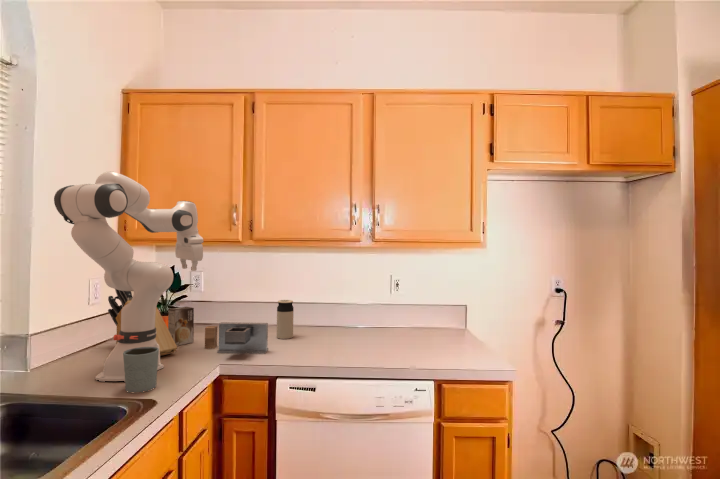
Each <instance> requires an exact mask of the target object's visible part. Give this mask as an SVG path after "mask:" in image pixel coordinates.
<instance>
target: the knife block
mask: <svg viewBox="0 0 720 479" xmlns="http://www.w3.org/2000/svg"><path fill="white" fill-rule="evenodd" d="M114 290H115V293H116V296H115V297H114V296H113V295H109V296H107V297H108V302H109V303H108V304H109V306H110V307H111V308H109V309H108V310H107V312H108V313H109V315H110V316H111V319H112V321H113V323H114V325H115V326H116V335H118V334H119V332H120V330H121V311H122V308H123V307H124V306H125V305H126V304H128V303H130V302H131V300H132V298H133V294H132V291H121V290H117V289H114ZM116 300H119V301H120V303H121V304H120V305H119V304H118V302H117V301H116ZM155 328H156V331H157V333H156V338H155V340H156V342H157V343H158V344H159V349H160V357H162V356H166V355H171V354H174V353H175V352H176V351H177V350H178V346H176V344H175V342H174V340H173V338H172V336H171V334H170V332H169V330H168V326H167V324H166V322H165V321H164V318H163V316H162V314H161V312H160V311H159V308H158V307H157V306H156V314H155ZM117 343H118V342H117V340H115V345H116V344H117Z"/></svg>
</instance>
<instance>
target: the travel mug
mask: <svg viewBox="0 0 720 479" xmlns="http://www.w3.org/2000/svg"><path fill="white" fill-rule="evenodd" d="M293 302H294V301H293V300H292V299H279V300H277V303H278V305H277V306H276V338H277V339H280V340H287V339H288V340H290V339H292V338H293V337H294V306H293Z"/></svg>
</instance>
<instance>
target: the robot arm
mask: <svg viewBox="0 0 720 479" xmlns="http://www.w3.org/2000/svg"><path fill="white" fill-rule="evenodd" d="M150 201H151V195H150V192H149V190H148V188H146V187H145V186H143V184H141V183H139V182H137V181H136V180H134V179H133V178H130V177H128V176H127V175H124V174H122V173H119V172H116V171H106V172H103V173H101V174H100V175H98V177H97V178H96V180H95V182H94V184H93V183H92V184H91V183H84V184H76V185H74V184H73V185H66V186H64V187H61V188H59V189H58V190H57V191H56V192H55V194H54V197H53V202H54V203H53V204H54V207H55V209H56V210H57V212H58V213H59V215H61V216H62V217H63V220H64V221H65V222H67V223H68V224H72V225H73V226H72V228H71V231H70V235H71V237H72V239H73V241H74V242H75V244H76V245H77V246H78V247H79V249H81V251H82V252H84V254H86V255H87V256H88V257H89V258H90V259H91V260H93V261H94V262H95V263H96V264H97V265H98V266H100V267H101V268H102V269H103V270H104V274H103V275H104V276H103V278H104V282H105V284H106V286H107V287H108V288H111V289H114V290H115V289H117V290H121V291H131V292H133V294H132V297H133V298H132V300H131V302H130V303H128V304H126V305H125V306H124V307H123V308H122V311H121V330H120V332H119V334H118V335H117V334H114V335H113V341H116V340H117V342H118V343H117V344H116V343H115V346H114V347H113V349H112V350H111V351H110V353H109V355H108V356H107V357H106V359H105V360H104V366H103V370H102V371H101V372H100V373H98V374H97V375H95V379H96V380H95V381H97V380H99V382H105V381H124V382H125V372H124V359H123V352H124V351H126V350H129V349H133V348H139V347H157V348H159V344H158V343H157V342H156V340H155V338H156V333H157V331H156V328H155V314H156V307H157V305H158V302H159V301H160V299H161V296H162V295H163V294H164V292H166V290H168V289H170V288H171V285H172V284H173V282H174V273H173V270H172V268H171V267H170V266H169V265H168V264H165V263H160V262H156V261H138V260H136V259H134V248H133V246H131V245H130V244H129V243H128V242H127V241H126V240H125V239H124V238H123V237H122V236H121V235H120V234H119V233H118V232H117V231H116V230H114V229H113V227H111V226H110V225H109V223H108V221H107V219H111V218H116V217H119V216H122V215H123V213H124V214H126V215H128V216H129V217H131V218H132V219H134V220H135V221H137V222H139V223H140V224H141V225H142V227H143V228H144V229H145V230H146V231H147V232H149V233H152V234H153V233H154V234H155V233H176V242H175V257H176V258H177V259H179V261H180V264H181V268H182V269H184V270H185V269H186V270H187V268H188V264H187V261H190V262H191V267H190V270H191V271H192V272H196V271H197V266H198V263H199V262H200V261H203V259H204V258H203V257H204V247H203V246H204V245H203V243H204V238H203V236H201V235H200V233H199V229H198V223H199V218H198V217H199V216H198V209H197V205H196V204H195V202H192V201H190V200H188V201H186V200H180V201H179V200H178V201H177V202H176V204H175V206H174V207H171V208H148V206H149V205H150ZM106 218H107V219H106ZM164 368H165V367H164V364H163V363H161V356H160V349H159V355H158V367H157V371H159V370H161V369H164Z"/></svg>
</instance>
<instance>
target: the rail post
mask: <svg viewBox="0 0 720 479" xmlns="http://www.w3.org/2000/svg"><path fill="white" fill-rule="evenodd" d="M216 347H218V325H207V326H206V327H205V328H204V349H215V348H216Z"/></svg>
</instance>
